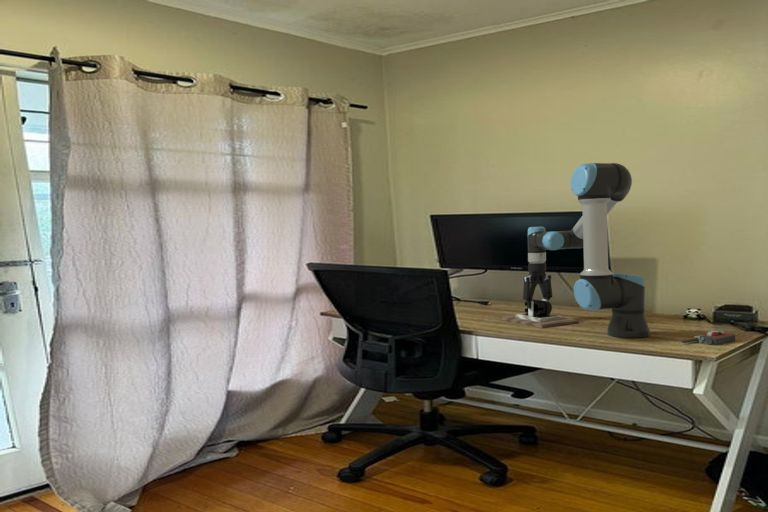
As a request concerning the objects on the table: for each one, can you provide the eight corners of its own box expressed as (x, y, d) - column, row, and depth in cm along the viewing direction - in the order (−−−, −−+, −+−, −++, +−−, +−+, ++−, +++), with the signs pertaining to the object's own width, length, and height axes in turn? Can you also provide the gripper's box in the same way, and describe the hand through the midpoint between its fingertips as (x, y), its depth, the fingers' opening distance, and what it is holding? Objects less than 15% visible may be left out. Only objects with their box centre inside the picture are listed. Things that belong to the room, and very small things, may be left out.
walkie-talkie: (716, 338, 238) (679, 345, 228) (716, 326, 237) (679, 332, 228) (739, 342, 230) (701, 349, 221) (739, 329, 230) (701, 336, 220)
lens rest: (578, 323, 277) (578, 316, 276) (542, 328, 267) (542, 321, 267) (534, 314, 301) (534, 309, 301) (499, 319, 292) (499, 313, 292)
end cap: (552, 316, 281) (552, 300, 281) (539, 318, 278) (539, 302, 278) (536, 313, 290) (536, 298, 290) (524, 315, 287) (523, 300, 286)
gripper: (524, 264, 275) (525, 318, 276) (560, 261, 284) (561, 313, 285) (513, 263, 281) (514, 316, 283) (548, 260, 291) (549, 311, 292)
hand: (538, 315), depth 284 cm, fingers closed on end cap, 7 cm apart
